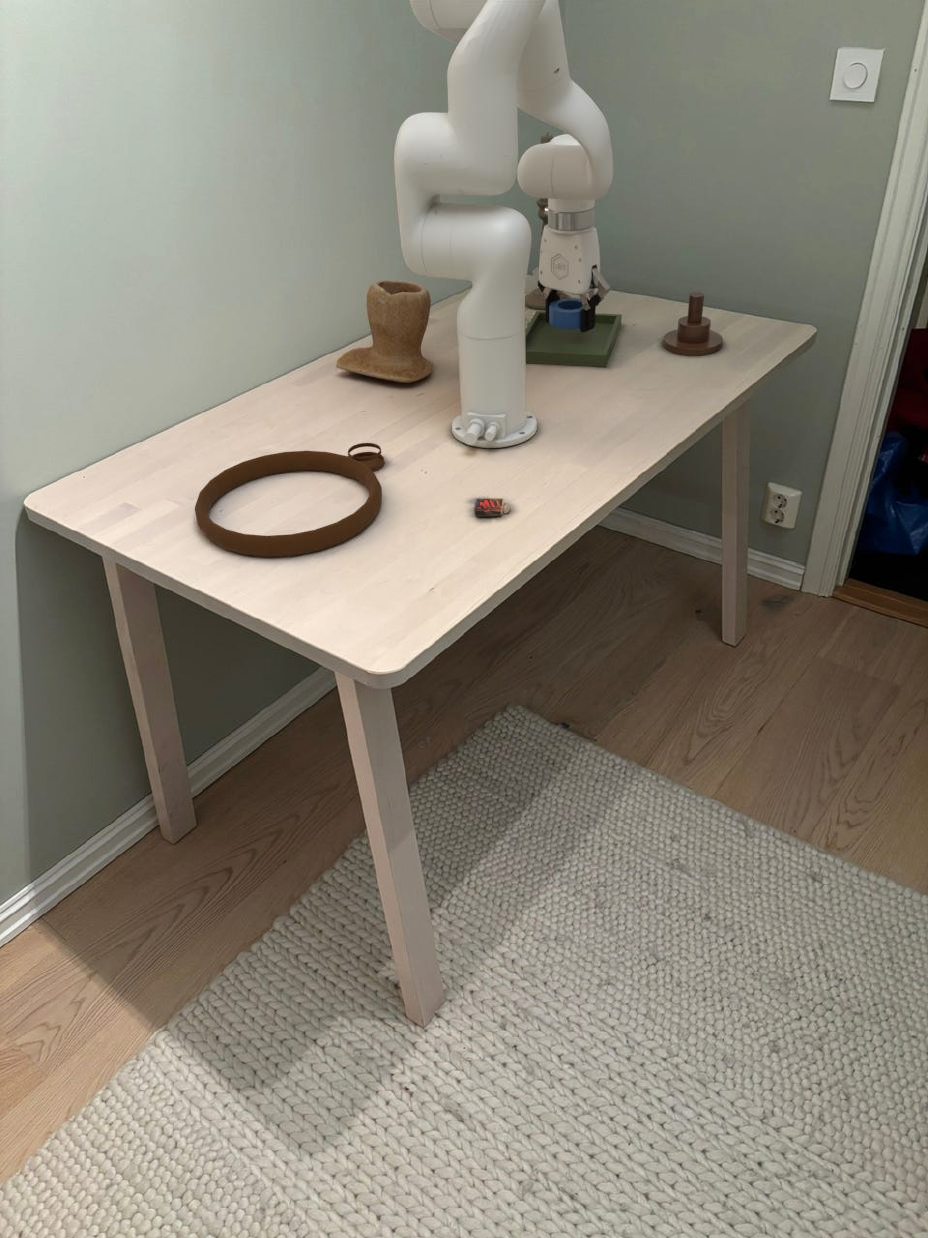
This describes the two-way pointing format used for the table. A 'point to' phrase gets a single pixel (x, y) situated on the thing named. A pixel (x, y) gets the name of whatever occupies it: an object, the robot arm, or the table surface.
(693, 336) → the stand
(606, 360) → the tray
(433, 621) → the table surface
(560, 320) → the ring
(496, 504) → the matchbox
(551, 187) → the robot arm
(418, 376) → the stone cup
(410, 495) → the table surface
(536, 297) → the candlestick holder
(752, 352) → the table surface
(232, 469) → the decorative ring
